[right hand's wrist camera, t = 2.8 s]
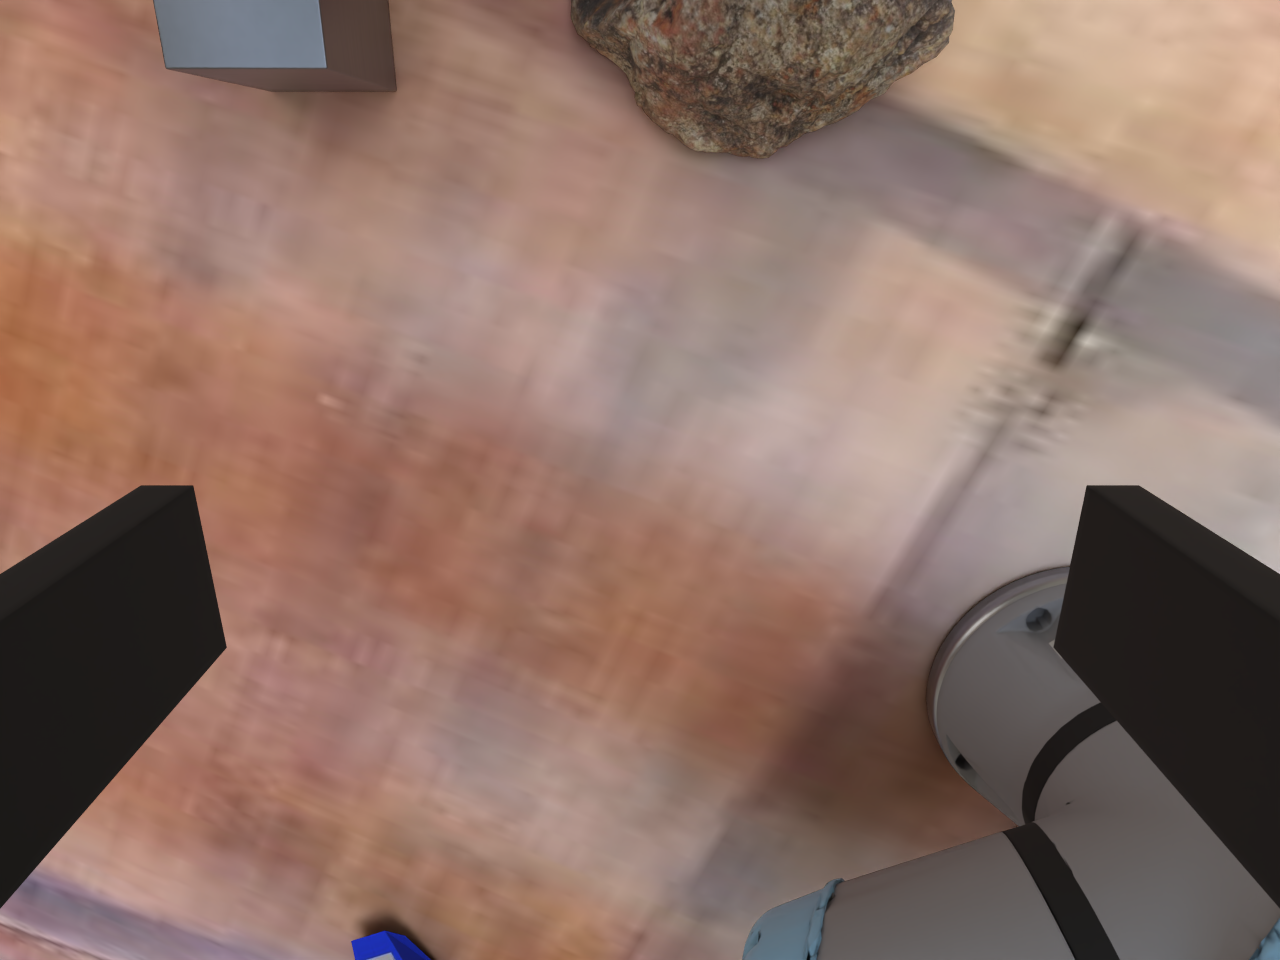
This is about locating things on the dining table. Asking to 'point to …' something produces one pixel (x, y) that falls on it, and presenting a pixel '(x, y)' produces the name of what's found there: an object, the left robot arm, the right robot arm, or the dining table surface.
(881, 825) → the dining table surface
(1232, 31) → the dining table surface
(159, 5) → the bar
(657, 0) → the rock
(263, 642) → the dining table surface
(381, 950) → the toy spaceship
